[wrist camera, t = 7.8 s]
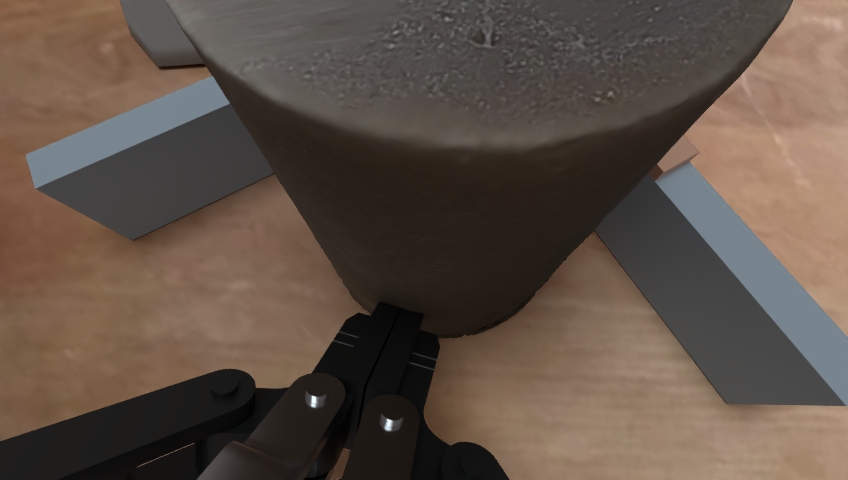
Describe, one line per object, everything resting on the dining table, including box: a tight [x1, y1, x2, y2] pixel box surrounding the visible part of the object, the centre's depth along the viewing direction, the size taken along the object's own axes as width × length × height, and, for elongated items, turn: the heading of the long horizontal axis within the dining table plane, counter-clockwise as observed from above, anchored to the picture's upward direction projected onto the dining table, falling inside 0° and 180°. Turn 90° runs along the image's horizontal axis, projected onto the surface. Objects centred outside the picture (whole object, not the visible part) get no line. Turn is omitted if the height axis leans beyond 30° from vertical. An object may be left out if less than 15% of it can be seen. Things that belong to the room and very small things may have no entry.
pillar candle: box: [164, 0, 793, 338], centre depth 12 cm, size 10×10×15 cm
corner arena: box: [26, 76, 848, 406], centre depth 15 cm, size 20×20×6 cm
